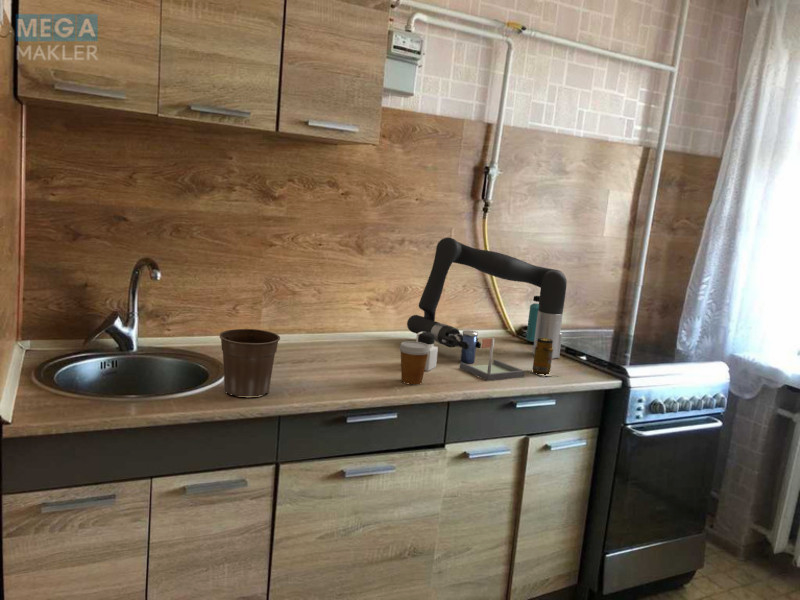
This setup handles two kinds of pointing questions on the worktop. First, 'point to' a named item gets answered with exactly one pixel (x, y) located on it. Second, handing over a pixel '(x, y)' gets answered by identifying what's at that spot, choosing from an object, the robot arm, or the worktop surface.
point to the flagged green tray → (493, 367)
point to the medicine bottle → (432, 355)
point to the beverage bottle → (532, 319)
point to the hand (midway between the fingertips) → (473, 346)
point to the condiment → (543, 356)
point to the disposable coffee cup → (413, 361)
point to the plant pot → (248, 360)
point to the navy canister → (469, 353)
